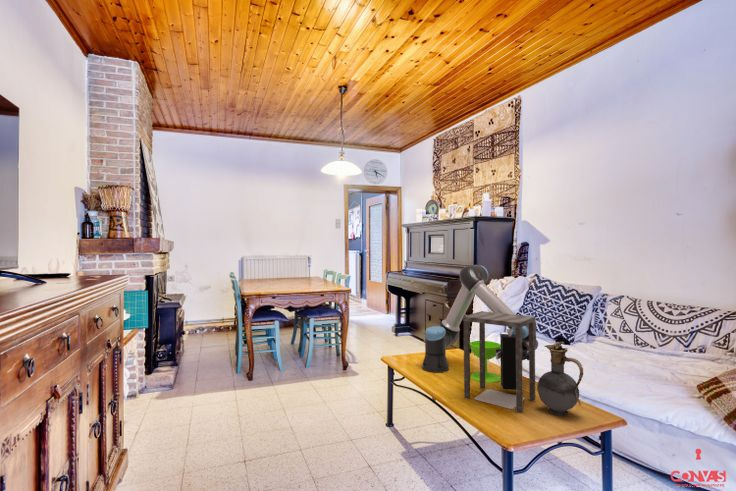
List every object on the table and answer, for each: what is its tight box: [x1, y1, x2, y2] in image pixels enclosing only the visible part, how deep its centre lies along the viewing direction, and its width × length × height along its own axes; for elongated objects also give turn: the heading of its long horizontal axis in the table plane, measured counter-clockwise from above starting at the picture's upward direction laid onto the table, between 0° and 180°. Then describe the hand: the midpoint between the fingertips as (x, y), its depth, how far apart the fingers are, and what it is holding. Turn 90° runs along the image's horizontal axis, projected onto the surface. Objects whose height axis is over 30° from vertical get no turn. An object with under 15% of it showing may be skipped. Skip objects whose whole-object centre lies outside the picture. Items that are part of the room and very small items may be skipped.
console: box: [462, 310, 536, 414], centre depth 180 cm, size 26×20×38 cm
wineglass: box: [470, 340, 501, 384], centre depth 210 cm, size 16×16×18 cm
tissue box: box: [499, 328, 516, 391], centre depth 187 cm, size 8×8×28 cm
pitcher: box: [536, 341, 584, 417], centre depth 164 cm, size 11×19×30 cm, turn 27°
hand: (506, 358), depth 183 cm, fingers closed on tissue box, 9 cm apart
